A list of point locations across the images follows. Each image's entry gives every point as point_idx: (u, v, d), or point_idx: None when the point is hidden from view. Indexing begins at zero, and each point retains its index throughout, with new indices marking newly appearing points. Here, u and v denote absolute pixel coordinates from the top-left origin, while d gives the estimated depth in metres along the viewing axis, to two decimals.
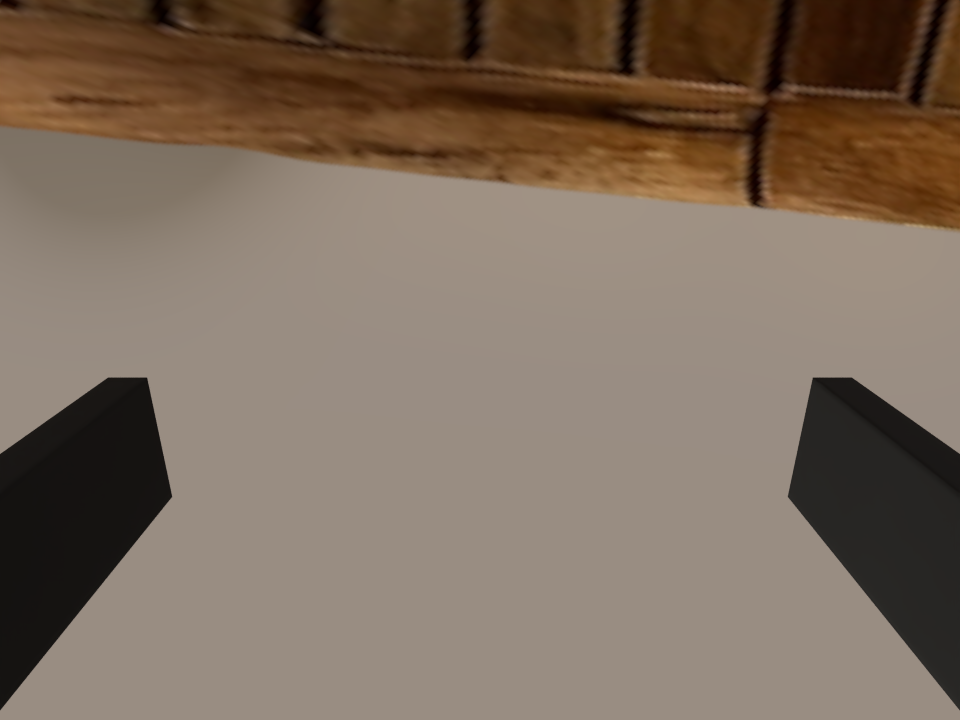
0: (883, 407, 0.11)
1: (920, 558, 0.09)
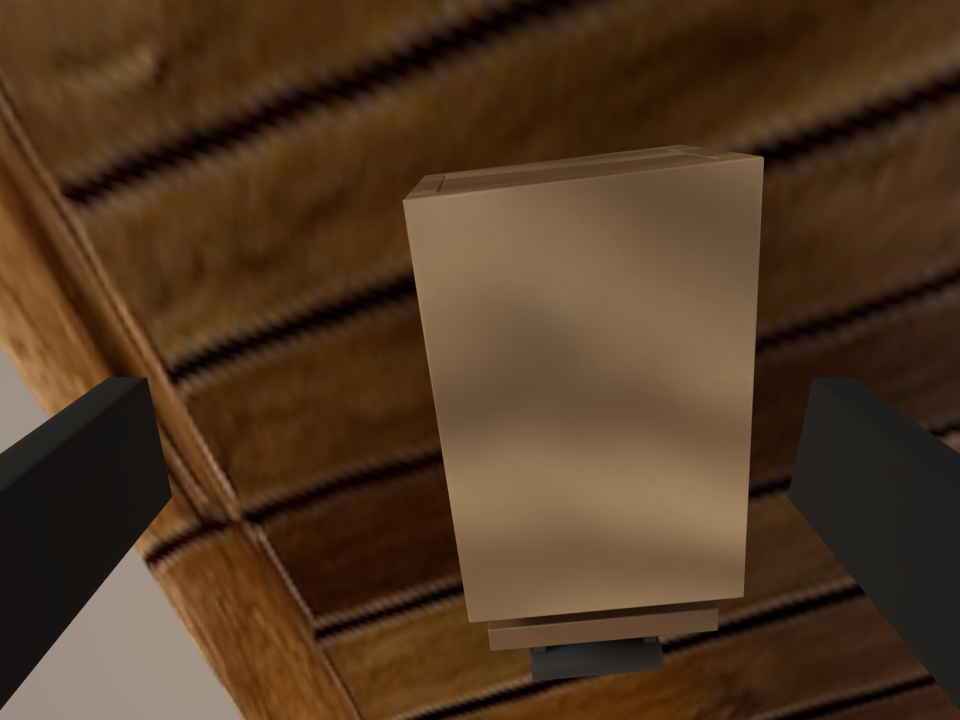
0: (883, 407, 0.11)
1: (920, 558, 0.09)
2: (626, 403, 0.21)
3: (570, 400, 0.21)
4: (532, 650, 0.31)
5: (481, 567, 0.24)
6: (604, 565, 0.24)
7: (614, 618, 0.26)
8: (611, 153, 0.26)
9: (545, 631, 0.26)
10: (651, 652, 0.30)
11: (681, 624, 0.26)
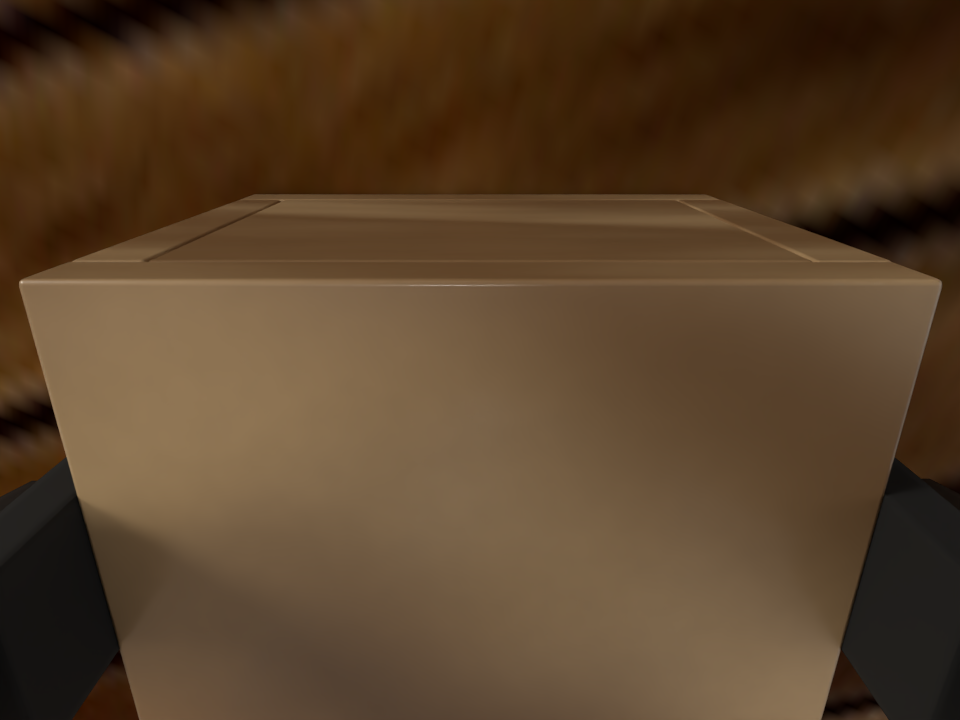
0: None
1: None
2: None
3: None
4: None
5: None
6: None
7: None
8: (585, 196, 0.14)
9: None
10: None
11: None
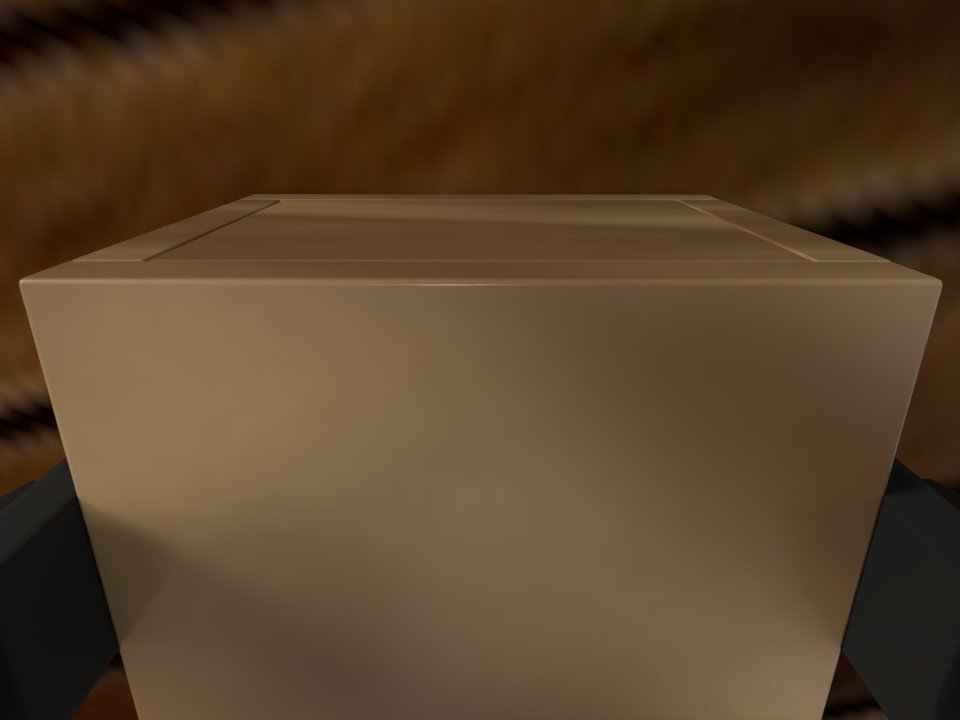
0: None
1: None
2: None
3: None
4: None
5: None
6: None
7: None
8: (585, 196, 0.14)
9: None
10: None
11: None
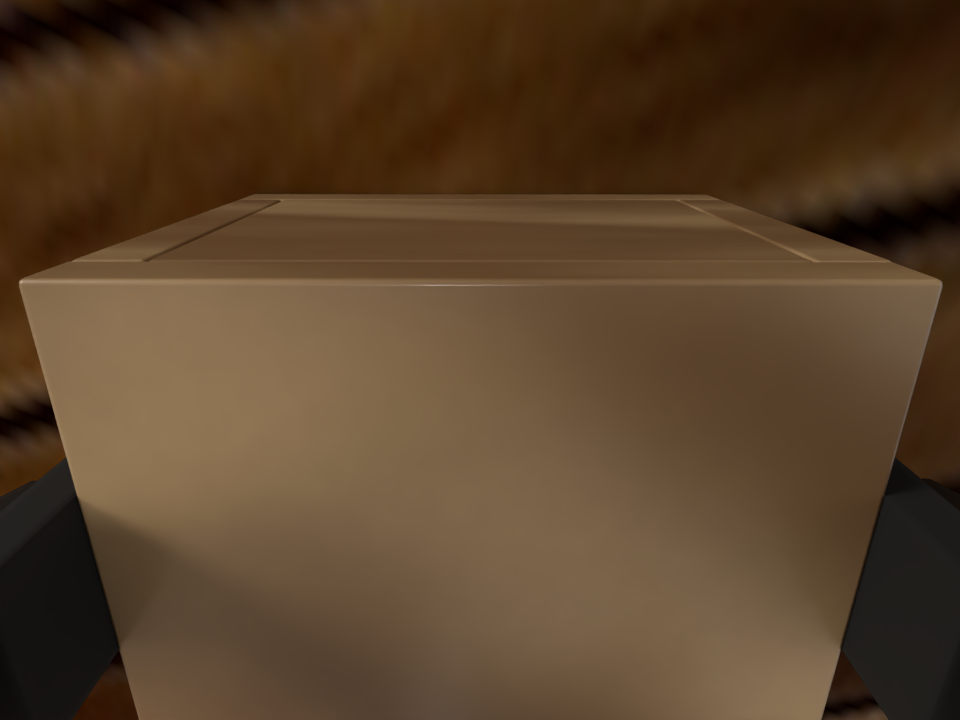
0: None
1: None
2: None
3: None
4: None
5: None
6: None
7: None
8: (585, 196, 0.14)
9: None
10: None
11: None
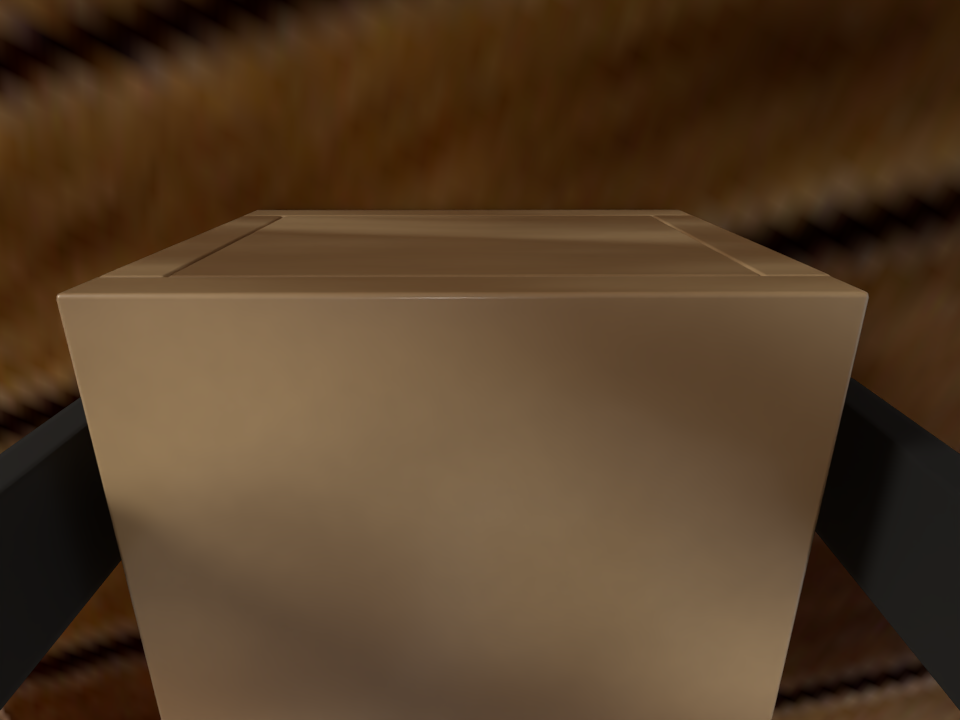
0: (883, 407, 0.11)
1: (920, 558, 0.09)
2: (530, 712, 0.11)
3: (423, 699, 0.11)
4: None
5: None
6: None
7: None
8: (567, 211, 0.16)
9: None
10: None
11: None
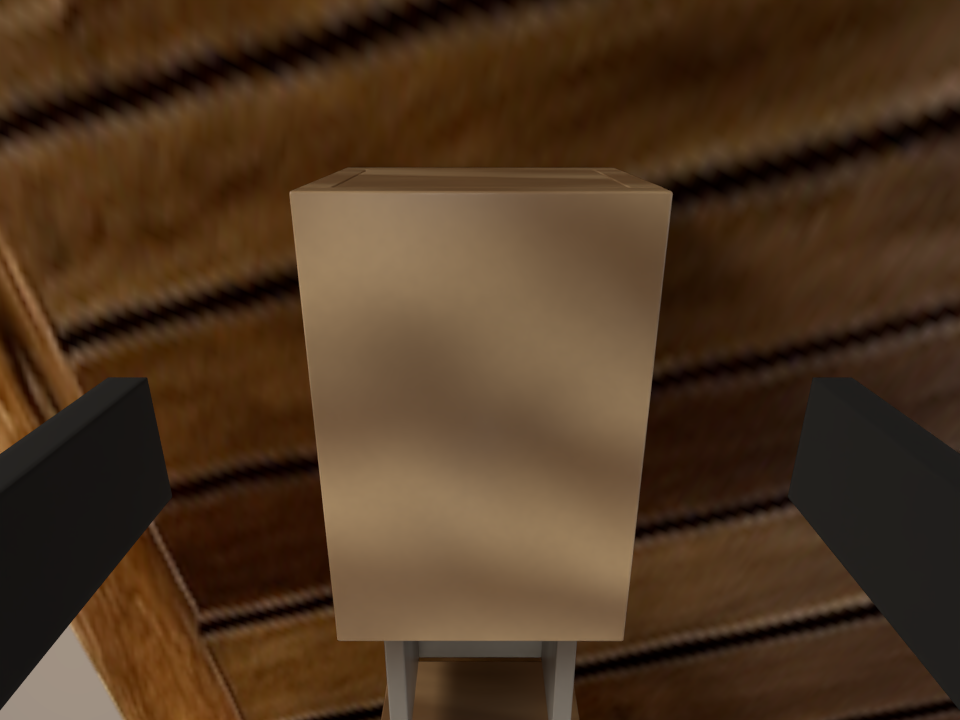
0: (883, 407, 0.11)
1: (920, 558, 0.09)
2: (514, 431, 0.20)
3: (456, 422, 0.20)
4: None
5: (353, 585, 0.23)
6: (482, 595, 0.23)
7: None
8: (542, 168, 0.25)
9: None
10: None
11: None
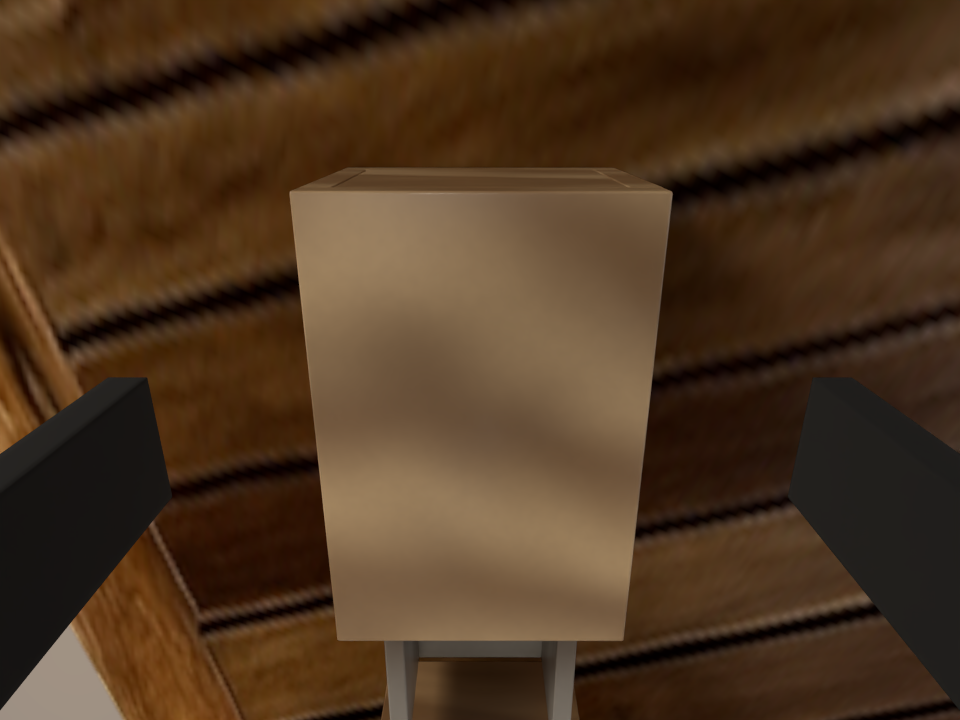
0: (883, 407, 0.11)
1: (920, 558, 0.09)
2: (514, 430, 0.20)
3: (456, 422, 0.20)
4: None
5: (353, 585, 0.23)
6: (482, 595, 0.23)
7: None
8: (542, 168, 0.25)
9: None
10: None
11: None
